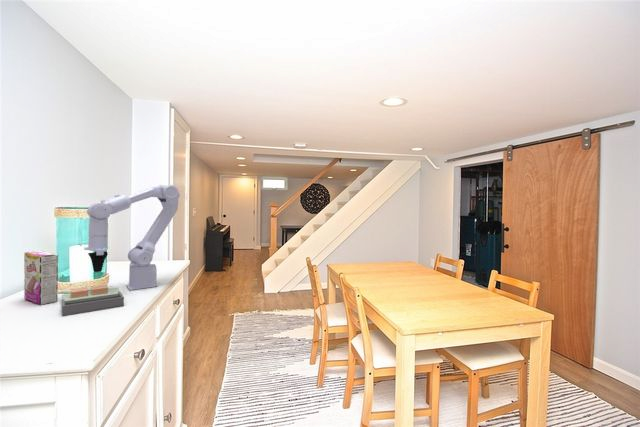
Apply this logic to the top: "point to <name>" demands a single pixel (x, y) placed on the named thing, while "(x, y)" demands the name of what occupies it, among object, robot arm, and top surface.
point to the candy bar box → (40, 277)
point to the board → (91, 296)
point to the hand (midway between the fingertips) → (97, 271)
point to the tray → (92, 304)
